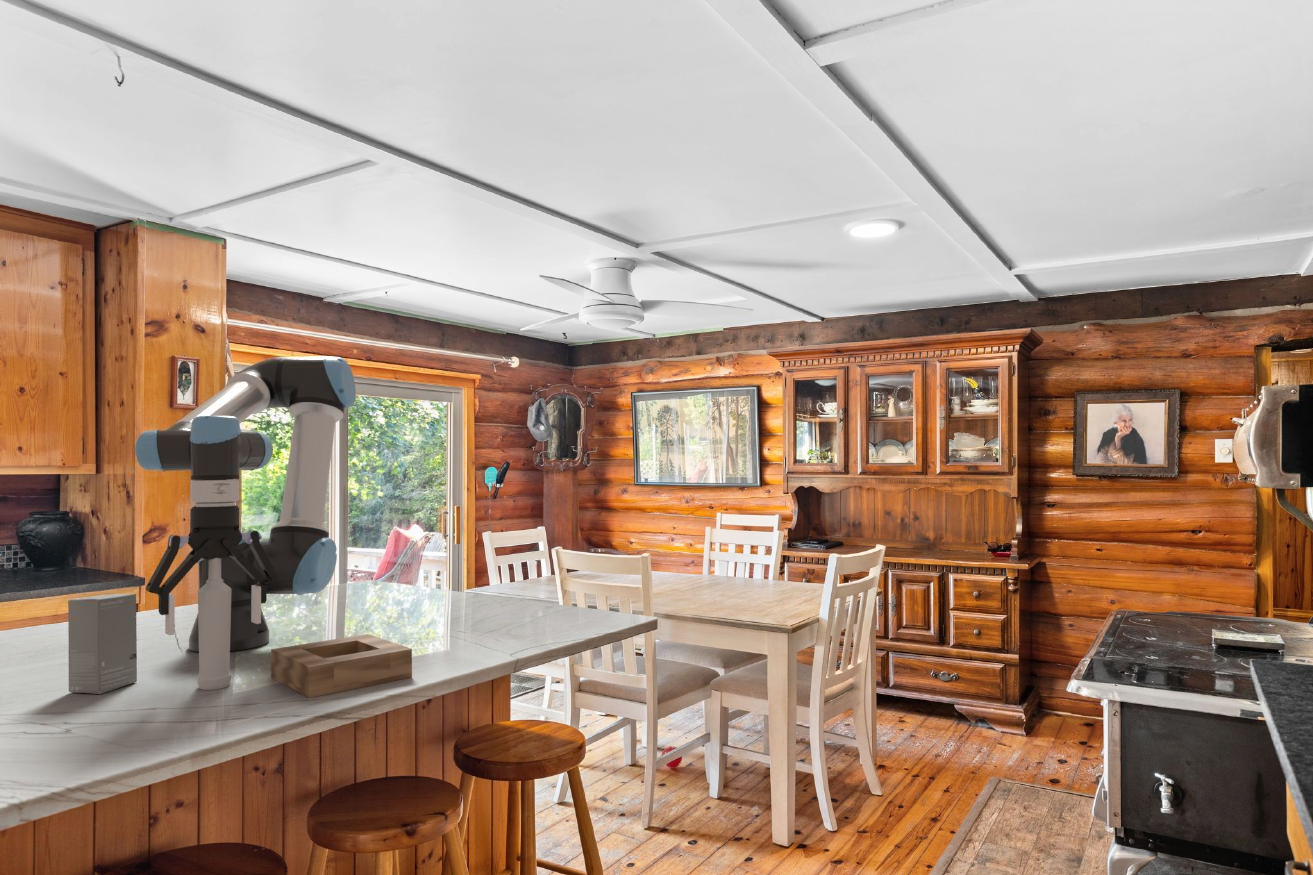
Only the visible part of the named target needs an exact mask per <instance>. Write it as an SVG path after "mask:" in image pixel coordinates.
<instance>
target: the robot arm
mask: <svg viewBox="0 0 1313 875" xmlns="http://www.w3.org/2000/svg"><path fill="white" fill-rule="evenodd" d="M356 390H357V389H356V383H355V378H354V374H353V371H352V368H351V367H350V364H349V362H348V361H347V360H345V359H344V358H342V357H340V356H327V355H324V356H275V357H271V358H268V359H265V360H261V361H259V362H256V363H254V364H252V365H249V366H247V367H246V368H243V369H242V370H239V372H237V373H235V374H234V375H232V376H231V377H230V378H229V379H228V380H227V382H226V384H225V387H224V388H222V389H221V390H220V391H218V392H217V393H216V394H215V395H212V397H210V398H209V399H207V400H206V401H205V402H203V403H202V404H200V405H199V406H198V407H196V408H195V409H193V410H192V411H191V412H189V413H188V414H186V415H185V416H184V417H182V418H181V419H179V420H178V421H176V423H174V424H173V425H171V426H170V427H168V428H167V429H163V430H162V429H158V428H157V429H155V430H146V431H143V432H142V433H140V434H139V436H137V439H136V442H135V444H134V445H135V448H134V454H135V456H136V461H137V462H138V465H139V466H140V467H141V468H142V469H144V470H146V471H156V472H157V471H158V472H159V471H160V472H173V471H174V472H175V471H176V472H177V471H179V472H181V471H190V492H189V493H190V497H189V498H190V500H189V501H190V503H191V504H193V506H192V507H191V508H190V509H189V511H190V512H189V513H190V514H189V515H190V516H189V518H190V519H189V534H188V535H186V536H184V535H176V534H171V535H169V536H168V541H167V547H166V550H165V551H164V553H163V554H162V557H161V559H160V561H159V563H158V564H157V566H156V568H155V569H154V571H153V574H151V577H150V578H149V580H148V583H147V585H146V586H145V591H147V592H149V593H151V594H154V595H157V596H158V613H159V615H161V616H165V617H164V618H165V620H164V621H165V622H164V633H165V634H166V635H168V636H175V628H176V627H175V622H176V621H175V620H176V619H175V618H176V616H175V614H176V612H175V610H176V609H175V608H176V605H175V604H176V602H175V601H176V596H175V595H174V594H172V593H171V592H172V591H173V590H174V589H175V588H176V587H177V586H178V584H180V582H181V581H182V580H183V578H184V577H186V575H187V574H188V573H189V572H190V571H191V569H192V568H193V567H194V566H195V565H196V564H198V590H199V589H201V588H202V587H203V586H204V585H205V584H206V581H207V580H208V573H209V560H211V559H214V558H221V578H222V579H223V582H224V583H225V584H226V585H227V586H229V587H230V588H231V627H230V652H235V651H242V650H247V649H253V648H257V647H261V646H263V645H266V644H268V643H269V642H270V629H269V626H268V623H267V620H266V618H265V615H264V612H263V609H262V604H266V603H267V599H268V598H267V596H268V595H298V596H303V595H307V594H317V593H320V592H322V591H323V590H325V589H326V588H327V586H328V585H329V583H330V582H331V580H332V578H333V576H334V573H335V570H336V564H337V559H338V556H337V555H338V554H337V545H336V543H335V540H334V539H332V538H330V532H329V530H328V529H327V528H326V526H324V516H325V509H326V503H327V502H326V500H327V493H328V485H329V477H330V468H331V460H332V452H333V446H334V437H335V430H336V423H338V422H339V421H340V420H342V419H343V418H344V414H345V409H349V408H351V407H354V405H355V402H356V396H357V395H356ZM275 408H276V409H277V408H282V409H283V408H286V409H287V408H288V412H289V414H290V415H291V416H292V417H293V418H294V420H293V425H292V427H293V428H292V434H291V440H290V447H289V455H288V462H287V470H286V476H285V484H284V491H283V498H282V502H281V503H282V504H281V510H280V518H279V521H278V523H277V522H276V524H275V525H274V526H272V527H270V528H271V529H270V532H269V538H262V535H261V533H260V532H259V531H258V530H253V529H250V530H248V531H246V532H241V531H240V507H239V505H236V503H238V502H239V501H240V471H244V472H245V471H255V470H258V469H261V468H264V467H266V466H267V465H268V464H269V463H270V461H271V459H272V457H273V454H274V445H273V443H272V440H271V439H270V438H269V436H268V435H266V434H265V433H264V432H260V431H257V430H255V429H242V428H241V426H240V424H241V423H243V422H244V421H245V420H246V419H247V418H249V417H250V416H252V415H257V414H260V413H262V412H263V411H265V410H268V409H275ZM185 544H188V546H190V549H191V550H190V552H189V553H188V554H187V555H186V557H185V558H184V560H183V561H182V562H181V563H180V564H179V566H177V567H176V569H175V570H174V571H173V572H172V573H171V575H169V577H168V578H167V579H166V580H165V581H164V582H163V580H164V579H165V577H166V575H167V573H168V571H169V570H170V568H171V566H172V564H173V563H174V561H175V559H176V557H177V555H178V552H179V550H180V549H182V548H184V546H185ZM162 582H163V584H162ZM188 637H189V638H188V649H189V651H192V652H198V653H199V627H198V613H197V614H196V617H195V620H194V623H193V626H192V629H191V631H190V634H189V636H188Z"/></svg>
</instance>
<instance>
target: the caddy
mask: <svg viewBox="0 0 1313 875" xmlns="http://www.w3.org/2000/svg"><path fill="white" fill-rule="evenodd" d="M412 677H413V648H410V647H409V646H404V645H402V644H399V643H395V642H393V641H389V640H388V639H383V638H381V637H379V636H375V635H372V634H369V633H366V634H365V633H364V634H360V635H353V636H347V637H340V638H335V639H327V640H321V641H315V642H309V643H303V644H297V645H290V646H289V645H288V646H283V647H278V648H271V649H270V678H272V679H273V680H275V681H277V682H279V683H281V684H282V685H284V686H286V687H288V688H289V689H293V690H294V691H296V692H297V693H300V694H301V695H303V696H306V697H307V698H309V699H310V698H315V697H320V696H325V695H329V694H334V693H340V692H344V691H350V690H355V689H360V688H365V687H370V686H375V685H379V684H385V683H389V682H395V681H399V680H406V679H409V678H412Z"/></svg>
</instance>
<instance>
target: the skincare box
mask: <svg viewBox="0 0 1313 875" xmlns="http://www.w3.org/2000/svg"><path fill="white" fill-rule="evenodd" d="M67 609H68V610H67V611H68V612H67V614H68V615H67V616H68V626H67V627H68V634H67V635H68V693H76V694H77V693H78V694H79V693H83V694H84V693H85V694H96V695H100V694H104V693H108V692H111V691H113V690H117V689H119V688H123V687H125V686H127V685H131V684H134V683H137V681H138V668H137V667H138V666H137V664H138V662H137V661H138V659H137V658H138V655H137V654H138V653H137V650H138V649H137V648H138V647H137V640H138V639H137V593H113V594H112V593H108V594H107V593H106V594H100V595H94V596H93V595H91V596H85V597H77V598H72V599H69V600H68V601H67Z"/></svg>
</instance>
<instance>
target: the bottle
mask: <svg viewBox="0 0 1313 875" xmlns="http://www.w3.org/2000/svg"><path fill="white" fill-rule="evenodd" d="M197 608H198V609H197V614H198V627H199V652H198V665H199V668H198V676H197V685H198V689H199V690H202V691H210V690H212V691H213V690H219V689H224V688H226V687H227V688H228V687H229V686H230V684H231V681H232V674H231V672H230V663H231V659H230V657H231V655H230V654H231V651H230V627H231V588H230V587H229V586H227V585H226V584H225V583H224V582H223V579H222V578H221V558H214V559H211V560H209V573H208V580H207V581H206V584H205V585H204V586H203V587H202V588H201V589H199V588H198V590H197Z"/></svg>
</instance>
